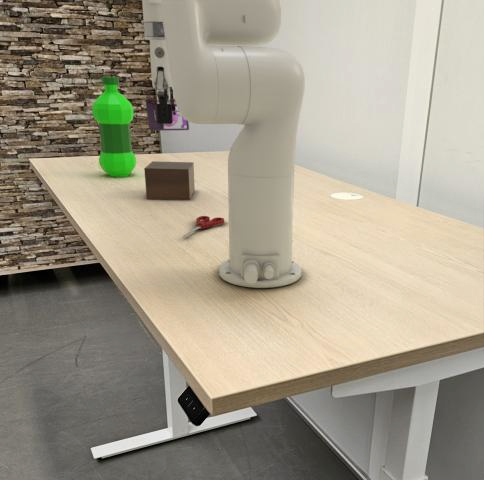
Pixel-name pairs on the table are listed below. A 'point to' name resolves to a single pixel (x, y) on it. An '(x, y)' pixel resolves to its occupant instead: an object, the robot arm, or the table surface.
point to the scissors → (206, 223)
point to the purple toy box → (153, 117)
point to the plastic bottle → (114, 129)
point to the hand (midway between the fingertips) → (167, 121)
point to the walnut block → (169, 180)
